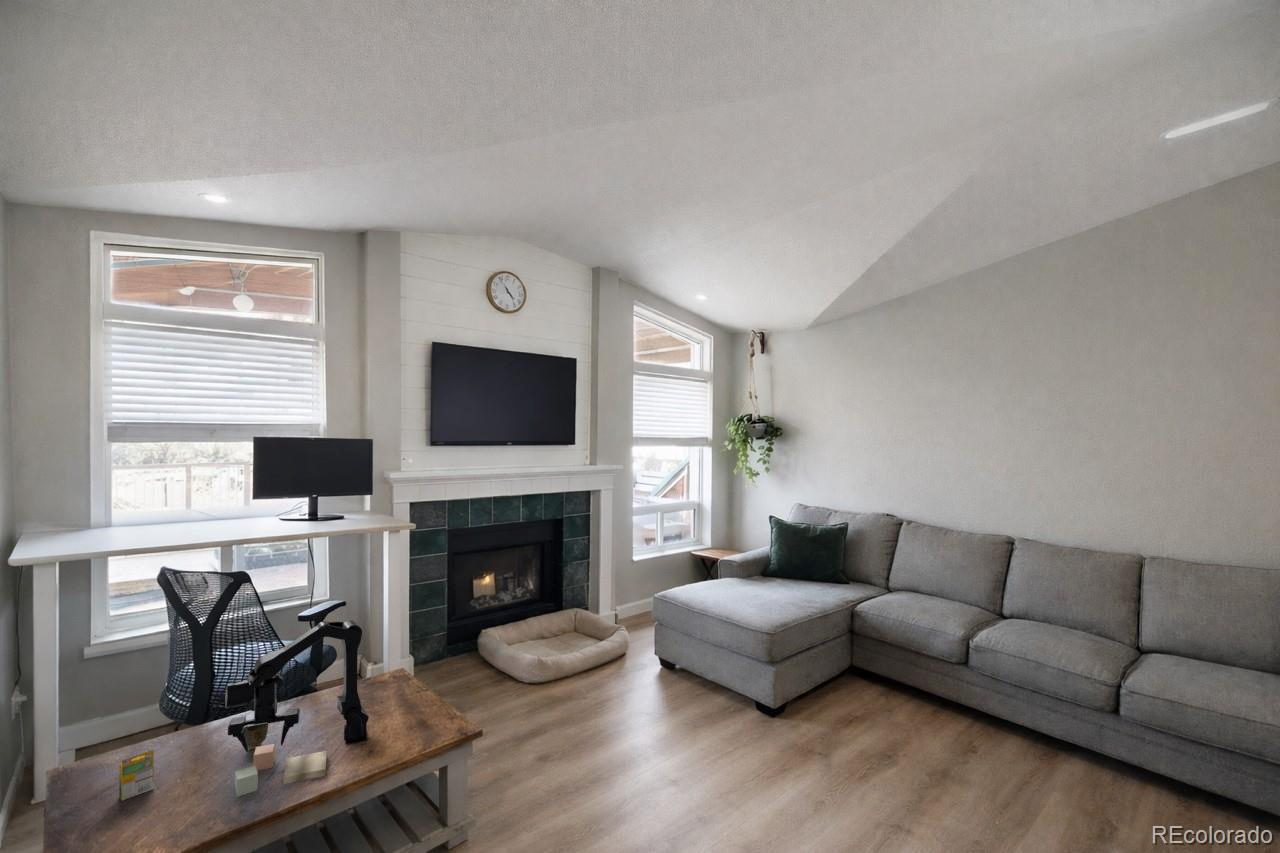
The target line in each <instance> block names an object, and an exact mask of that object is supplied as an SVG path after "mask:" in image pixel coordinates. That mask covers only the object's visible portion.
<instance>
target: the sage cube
mask: <svg viewBox="0 0 1280 853" xmlns="http://www.w3.org/2000/svg"><path fill="white" fill-rule="evenodd" d="M258 774H259V773H258V770H257V769H256V766H253V765H252V766H249V767H245V768H243V769H238V770H235V772H234V790H235V794H236V797H241V796H244V795H247V794H249V793H253V792H256V791H258V790H259V789H258V781H259V779H258V777H259V775H258Z"/></svg>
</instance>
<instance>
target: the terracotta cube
mask: <svg viewBox="0 0 1280 853" xmlns="http://www.w3.org/2000/svg"><path fill="white" fill-rule="evenodd" d="M275 747H276V745H275V743H272V744H266V745H261V746H259V747H256V749H255V750H254V753H253V765H252V766H256V769H257V771H262V770H267V769H270V768H273V767H274V762H275Z"/></svg>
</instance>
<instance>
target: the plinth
mask: <svg viewBox="0 0 1280 853" xmlns="http://www.w3.org/2000/svg"><path fill="white" fill-rule="evenodd" d="M327 760H328V750H324V751H319V752H312V753H309V754H307V753H306V754H302V755H298V756H292V757H287V759H286V761H285V762H286V763H285V767H284V768H285V769H284V773H283V780H282V781H283V782H282V783H283V785H286V784H290V783H296V782H300V781H306V780H311V779H314V778H319V777H325V776H326V771H327V770H326V768H327Z"/></svg>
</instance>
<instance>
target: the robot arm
mask: <svg viewBox="0 0 1280 853" xmlns="http://www.w3.org/2000/svg"><path fill="white" fill-rule="evenodd" d="M362 636H363V629H362V628H361V627H360V625H359V624H358V623H357V621H354V620H352V619H351V620H345V621H321V622H319V623H317V625H316V626H314V627H313V628H311V629H309V630H308V631H307V632H305V633H303V634H302V635H300V636H299V637H297V638H296V639H295V640H293V641H291V642H289V643H288V644H287V645H285V646H284V647H282V648H279V649H278V650H274V651H271V652H270V651H269V652H268V653H266V654H264V655H263V656H261V657H258V658H257V659H256V661H255V663H254V664H253V668H252V670H251V671H250V673H249V674H248V675H247V677H246V680H243V681H238V682H230V683H227V684H226V690H225V692H224V694H225V696H224V698H225V700H224V701H225V709H229V708H233V707H239V706H242V705H247V704H249V702H251V708H250V709H251V711H250V712H253V713H254V714H253V719H247V717H246V715H245V716H241V717H234V718H232V719H231V720H230V721H229V723H228V726H227V736H232V738H236V739H238V741H239V742H240V743H241V745H242V747H243V749H244V750H245V753H248V752H249V748H248V747H249V746H248V736H247V727H251V726H257V725H262V724H268V725H269V724H274V723H279V722H283V725H282V732H281V739H280V747H281V746H283V744H284V742H285V739H286V737H287V734H288V733H289V730H290V728H293V727H294V726H295V725H297V724H299V723H300V716H301V709H300V708H299V707H295V708H294V707H293V708H289V709H285V712H284V713H283V714H278V699H277V684H281V683H283V682H284V678H283V676H282V675H280V674H279V672H281V671H282V670H283V669H284V667H285V666H286V665H287V664H288V663H289V662H291V660H292V659H294V658H296V657H297V656H298V655H300V654H301V653H303V652H304V651H306V650H307V649H309V648H311V647H312V646H314V645H315V644H316V643H318V642H319V641H321V640H323V639H324V638H332V639H337V640H340V641H341V644H342V647H343V692H342V693H341V695H337V696H336V698H337V705H336V708H337V710H338V712H339V714H340V716H342V717H343V719H344V720H345V721H346V722H345V724H344V727H343V728H344V729H343V740H344V741H345V742H344V743H345V745H349V744H355V743H360V742H366V741H367V740H368V735H367V734H368V733H367V732H368V731H367V730H368V729H367V726H368V725H367V723H368V721H369V717H370V716H369V715H368V713H367V711H366V709H365V708H364V707H363V706H362V703H361V699H360V696H359V692H358V651H359V647H360V645H361V642H362ZM253 689H254V693H253ZM253 694H254V699H253ZM252 699H253V700H252ZM251 700H252V701H251Z"/></svg>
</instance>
